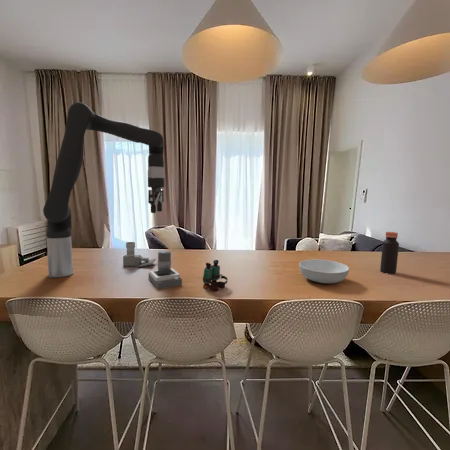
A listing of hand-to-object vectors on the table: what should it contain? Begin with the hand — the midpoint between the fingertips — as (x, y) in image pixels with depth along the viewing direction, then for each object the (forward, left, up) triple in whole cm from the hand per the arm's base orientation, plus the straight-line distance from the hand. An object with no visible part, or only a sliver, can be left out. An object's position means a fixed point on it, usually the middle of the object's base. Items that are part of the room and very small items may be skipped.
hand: (156, 212), depth 127 cm
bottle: (+100, -54, -28) cm, 117 cm away
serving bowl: (+61, -47, -28) cm, 82 cm away
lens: (-2, -18, -26) cm, 31 cm away
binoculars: (+14, -34, -28) cm, 46 cm away
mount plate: (-2, -18, -28) cm, 33 cm away
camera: (-6, +12, -28) cm, 31 cm away
